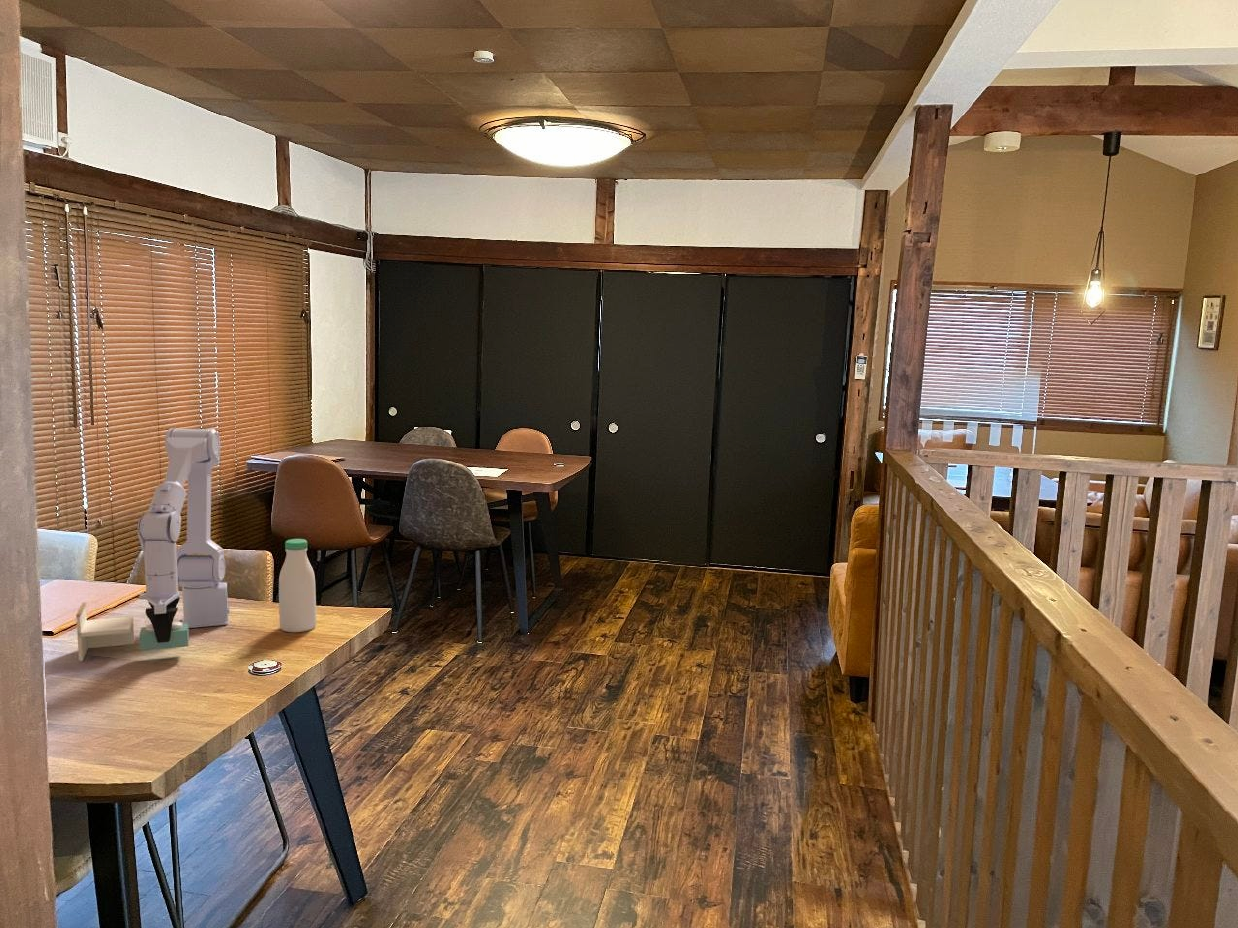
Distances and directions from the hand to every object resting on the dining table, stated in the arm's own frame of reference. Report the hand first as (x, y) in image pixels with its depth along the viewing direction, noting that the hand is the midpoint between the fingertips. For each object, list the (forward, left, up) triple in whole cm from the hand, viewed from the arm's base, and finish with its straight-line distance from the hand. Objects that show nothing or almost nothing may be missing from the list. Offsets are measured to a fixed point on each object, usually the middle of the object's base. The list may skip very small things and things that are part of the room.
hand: (164, 637), depth 181 cm
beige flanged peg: (+11, -7, -4) cm, 14 cm away
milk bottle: (-26, -11, -5) cm, 29 cm away
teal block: (0, 0, -2) cm, 2 cm away
